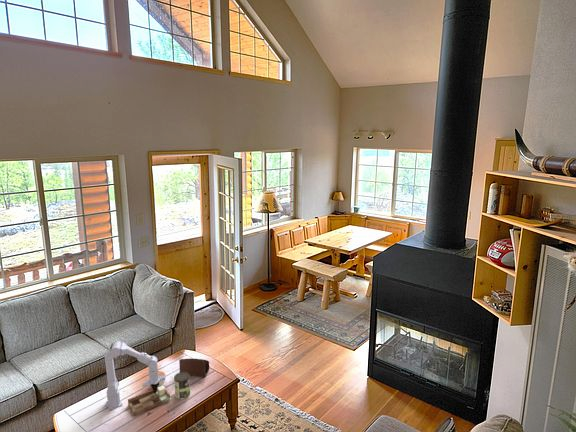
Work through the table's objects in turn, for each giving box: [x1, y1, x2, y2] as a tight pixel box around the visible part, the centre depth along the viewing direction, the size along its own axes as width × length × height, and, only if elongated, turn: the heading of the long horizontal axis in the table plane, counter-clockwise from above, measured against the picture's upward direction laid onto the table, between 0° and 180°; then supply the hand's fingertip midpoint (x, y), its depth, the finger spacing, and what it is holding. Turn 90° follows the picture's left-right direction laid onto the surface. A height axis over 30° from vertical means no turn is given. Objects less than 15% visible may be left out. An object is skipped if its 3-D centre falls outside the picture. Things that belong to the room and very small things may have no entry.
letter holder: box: [178, 358, 210, 378], centre depth 290 cm, size 10×20×14 cm, turn 84°
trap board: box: [127, 388, 171, 416], centre depth 259 cm, size 12×24×4 cm, turn 128°
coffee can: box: [173, 371, 191, 400], centre depth 266 cm, size 10×10×14 cm
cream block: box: [157, 385, 166, 396], centre depth 264 cm, size 4×4×4 cm
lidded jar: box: [157, 370, 166, 388], centre depth 276 cm, size 11×11×9 cm
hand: (154, 392), depth 263 cm, fingers closed
